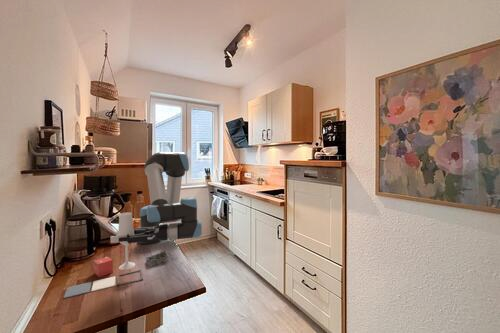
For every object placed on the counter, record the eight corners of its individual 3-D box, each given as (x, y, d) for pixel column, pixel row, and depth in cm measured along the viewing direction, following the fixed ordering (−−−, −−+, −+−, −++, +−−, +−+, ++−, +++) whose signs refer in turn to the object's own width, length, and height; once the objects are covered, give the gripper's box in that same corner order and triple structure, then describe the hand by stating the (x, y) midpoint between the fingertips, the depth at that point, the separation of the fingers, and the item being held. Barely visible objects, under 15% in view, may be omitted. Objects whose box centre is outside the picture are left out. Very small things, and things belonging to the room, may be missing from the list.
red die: (108, 268, 112) (108, 255, 112) (112, 272, 108) (112, 258, 108) (94, 273, 107) (93, 259, 107) (98, 277, 104) (97, 263, 103)
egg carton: (166, 257, 125) (166, 249, 125) (169, 262, 118) (168, 254, 118) (145, 261, 120) (145, 254, 119) (147, 267, 113) (146, 259, 113)
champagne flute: (115, 269, 99) (113, 215, 98) (125, 262, 106) (124, 211, 105) (128, 270, 98) (127, 216, 97) (138, 263, 104) (137, 212, 104)
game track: (141, 270, 110) (141, 269, 110) (142, 280, 101) (142, 279, 101) (68, 287, 96) (68, 286, 96) (62, 299, 87) (62, 298, 87)
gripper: (166, 247, 96) (105, 254, 91) (170, 233, 115) (120, 237, 110) (165, 230, 96) (105, 235, 90) (169, 218, 115) (120, 222, 109)
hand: (113, 236), depth 100 cm, fingers closed on champagne flute, 7 cm apart
